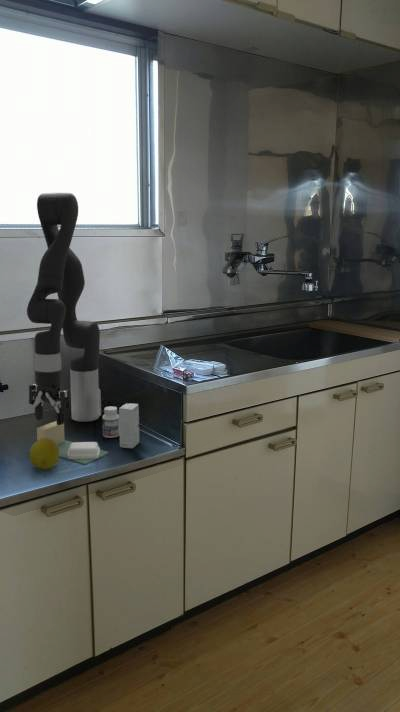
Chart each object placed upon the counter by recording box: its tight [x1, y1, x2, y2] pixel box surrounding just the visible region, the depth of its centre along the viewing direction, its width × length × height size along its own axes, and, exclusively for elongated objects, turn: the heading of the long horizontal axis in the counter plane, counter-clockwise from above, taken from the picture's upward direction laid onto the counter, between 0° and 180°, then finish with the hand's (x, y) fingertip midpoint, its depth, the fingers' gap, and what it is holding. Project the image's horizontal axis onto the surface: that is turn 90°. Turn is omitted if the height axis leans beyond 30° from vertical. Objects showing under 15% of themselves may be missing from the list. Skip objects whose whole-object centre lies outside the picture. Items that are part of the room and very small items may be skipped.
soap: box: [68, 441, 101, 459], centre depth 170 cm, size 9×7×3 cm
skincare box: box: [118, 402, 140, 449], centre depth 178 cm, size 6×4×12 cm
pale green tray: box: [36, 420, 110, 466], centre depth 173 cm, size 10×20×6 cm, turn 58°
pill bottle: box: [101, 406, 120, 439], centre depth 186 cm, size 5×5×9 cm
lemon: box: [29, 438, 60, 471], centre depth 161 cm, size 11×8×8 cm
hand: (49, 421), depth 175 cm, fingers open, 8 cm apart
